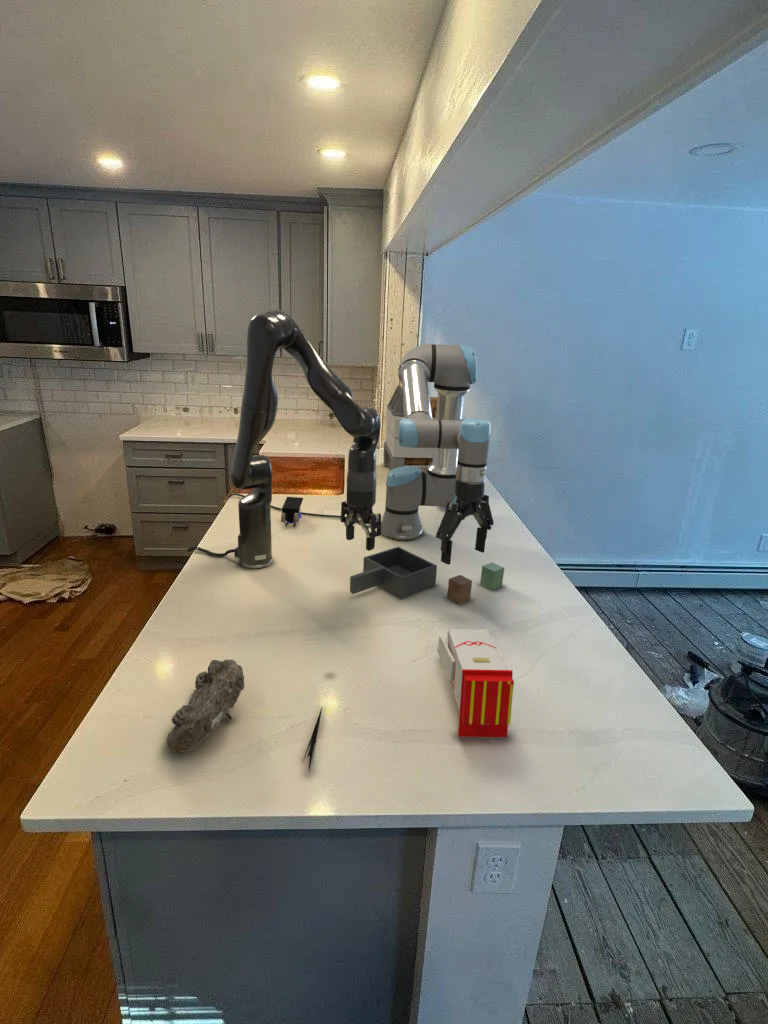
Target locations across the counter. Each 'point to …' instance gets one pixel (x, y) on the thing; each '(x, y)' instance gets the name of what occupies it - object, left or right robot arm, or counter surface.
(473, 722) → the toy
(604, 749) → the counter surface
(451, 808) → the counter surface
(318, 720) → the feather
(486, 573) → the green block
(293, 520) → the figurine character
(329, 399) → the left robot arm
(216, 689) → the fossil
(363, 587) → the bin
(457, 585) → the walnut block
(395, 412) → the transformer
